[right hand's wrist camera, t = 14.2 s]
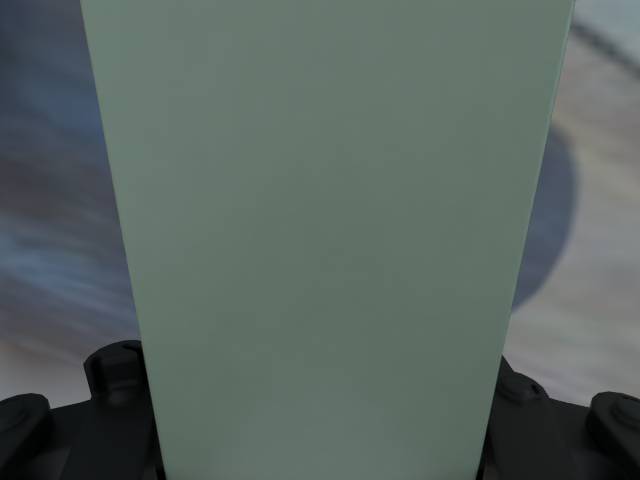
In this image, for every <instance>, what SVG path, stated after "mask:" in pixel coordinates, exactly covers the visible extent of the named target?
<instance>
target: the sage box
mask: <svg viewBox="0 0 640 480" xmlns="http://www.w3.org/2000/svg"><path fill="white" fill-rule="evenodd" d="M575 1H576V0H80V4H81V10H82V15H83V21H84V27H85V32H86V38H87V43H88V49H89V54H90V60H91V65H92V71H93V76H94V82H95V88H96V93H97V99H98V104H99V110H100V115H101V121H102V126H103V132H104V137H105V143H106V149H107V154H108V160H109V165H110V171H111V176H112V182H113V187H114V193H115V198H116V204H117V210H118V215H119V221H120V226H121V232H122V237H123V243H124V248H125V254H126V260H127V265H128V271H129V276H130V282H131V287H132V293H133V298H134V304H135V309H136V315H137V321H138V326H139V332H140V337H141V343H142V348H143V354H144V359H145V365H146V370H147V376H148V382H149V387H150V393H151V398H152V404H153V409H154V415H155V420H156V426H157V432H158V437H159V443H160V448H161V454H162V459H163V465H164V470H165V476H166V480H476V477H477V472H478V467H479V463H480V458H481V453H482V448H483V443H484V438H485V434H486V429H487V424H488V419H489V414H490V410H491V405H492V400H493V395H494V390H495V386H496V381H497V376H498V371H499V366H500V362H501V357H502V352H503V347H504V342H505V338H506V333H507V328H508V323H509V318H510V314H511V309H512V304H513V299H514V294H515V289H516V285H517V280H518V275H519V270H520V265H521V261H522V256H523V251H524V246H525V241H526V237H527V232H528V227H529V222H530V217H531V213H532V208H533V203H534V198H535V193H536V189H537V184H538V179H539V174H540V169H541V165H542V160H543V155H544V150H545V145H546V140H547V136H548V131H549V126H550V121H551V116H552V112H553V107H554V102H555V97H556V92H557V88H558V83H559V78H560V73H561V68H562V64H563V59H564V54H565V49H566V44H567V40H568V35H569V30H570V25H571V20H572V15H573V11H574V6H575Z"/></svg>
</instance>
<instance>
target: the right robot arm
mask: <svg viewBox="0 0 640 480" xmlns="http://www.w3.org/2000/svg"><path fill="white" fill-rule="evenodd" d="M83 365H84V369H85V373H86V377H87V381H88V384H89V388H90V392H91V396H92V397H91V399H90V400H87V401H84V402H81V403H76V404H72V405H67V406H63V407H58V408H54V409H51V408H50V405H49V402H48V399H46V398H45V397H44V396H43V395H40V394H34V393H29V394H22V395H16V396H13V397H10V398H7V399H4V400H2V401H0V480H166V476H165V470H164V465H163V459H162V454H161V448H160V443H159V437H158V432H157V426H156V420H155V415H154V409H153V404H152V398H151V393H150V387H149V382H148V376H147V370H146V365H145V359H144V354H143V348H142V343H141V341H138V340H125V341H121V342H116V343H112V344H110V345H107V346H105V347H103V348H101V349H99V350H97V351H96V352H94V353H93V354H92V355H90V356H89V357H88V359H87V360H86V361H85V362H84V364H83ZM476 480H640V399H638V398H635V397H632V396H629V395H626V394H623V393H616V392H609V391H608V392H602V393H598V394H596V395H595V396H594V397H593V398H592V401H591V404H590V407H584V406H580V405H575V404H571V403H566V402H562V401H558V400H555V399H551V398H549V396H548V394H547V393H546V391H545V390H544V388H543V387H542V386H541V385H539V384H538V383H537V382H536V381H534V380H533V379H531V378H529V377H527V376H525V375H523V374H521V373H517V372H514V371H513V370H512V368H511V367H510V365H509V364H508V362H507V361H506V359H505V358H504V357H503V355H502V357H501V362H500V366H499V371H498V376H497V381H496V386H495V390H494V395H493V400H492V405H491V410H490V414H489V419H488V424H487V429H486V434H485V438H484V443H483V448H482V453H481V458H480V463H479V467H478V472H477V477H476Z"/></svg>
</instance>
